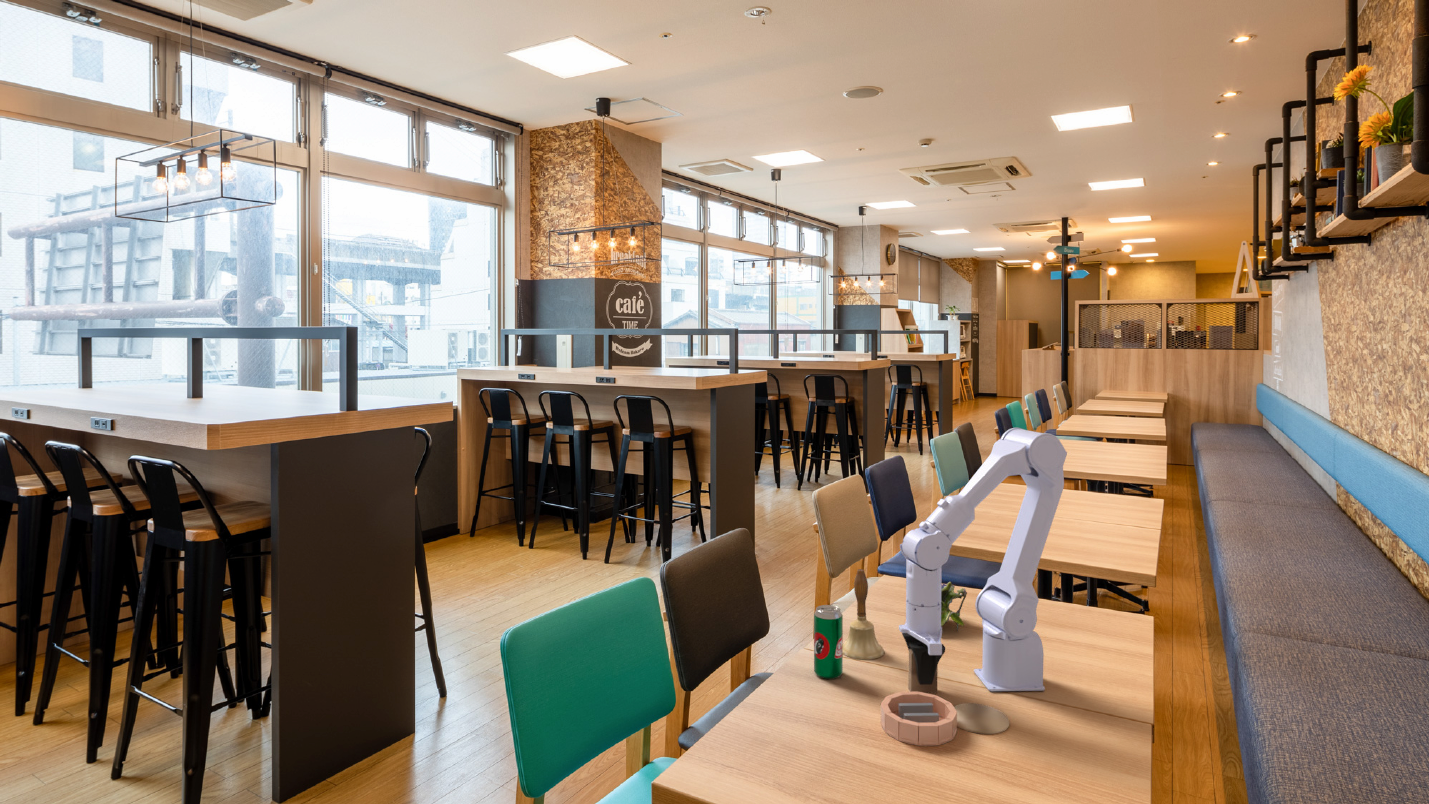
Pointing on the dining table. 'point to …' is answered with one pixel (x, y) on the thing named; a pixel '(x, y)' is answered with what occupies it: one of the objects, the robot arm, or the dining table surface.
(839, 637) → the soda can
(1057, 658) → the dining table surface
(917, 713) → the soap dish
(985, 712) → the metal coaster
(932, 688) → the brown rectangular block
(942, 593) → the green leafy plant
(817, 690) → the dining table surface
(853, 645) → the hand bell
